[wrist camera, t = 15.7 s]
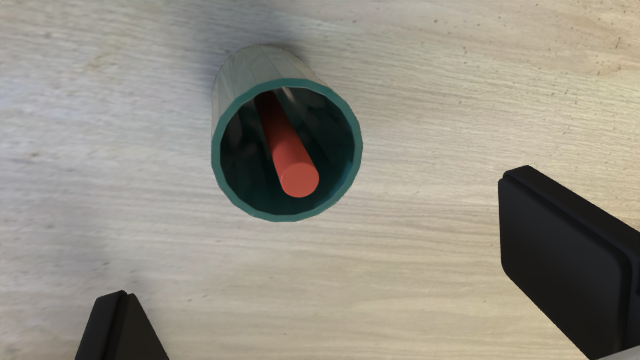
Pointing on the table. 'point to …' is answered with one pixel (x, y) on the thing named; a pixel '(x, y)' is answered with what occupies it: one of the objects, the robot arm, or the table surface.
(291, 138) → the straw
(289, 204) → the can
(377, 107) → the table surface
